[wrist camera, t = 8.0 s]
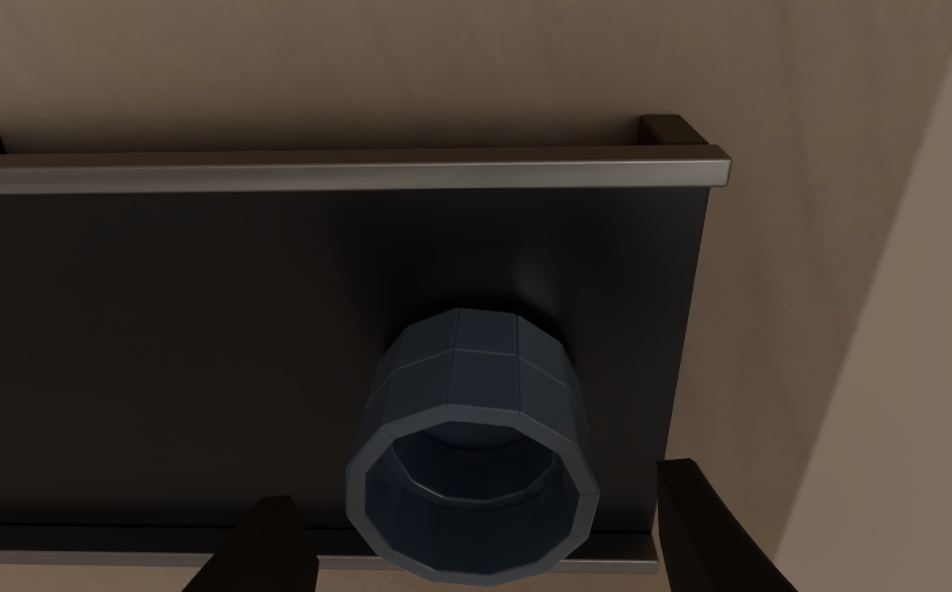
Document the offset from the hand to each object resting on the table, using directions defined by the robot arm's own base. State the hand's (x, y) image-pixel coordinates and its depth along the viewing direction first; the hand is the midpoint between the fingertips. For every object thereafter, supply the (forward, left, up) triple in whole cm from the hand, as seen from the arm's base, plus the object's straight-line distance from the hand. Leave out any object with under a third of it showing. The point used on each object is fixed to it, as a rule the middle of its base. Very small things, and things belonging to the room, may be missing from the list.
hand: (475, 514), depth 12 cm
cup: (0, 0, -4) cm, 4 cm away
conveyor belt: (+10, +8, -7) cm, 15 cm away
